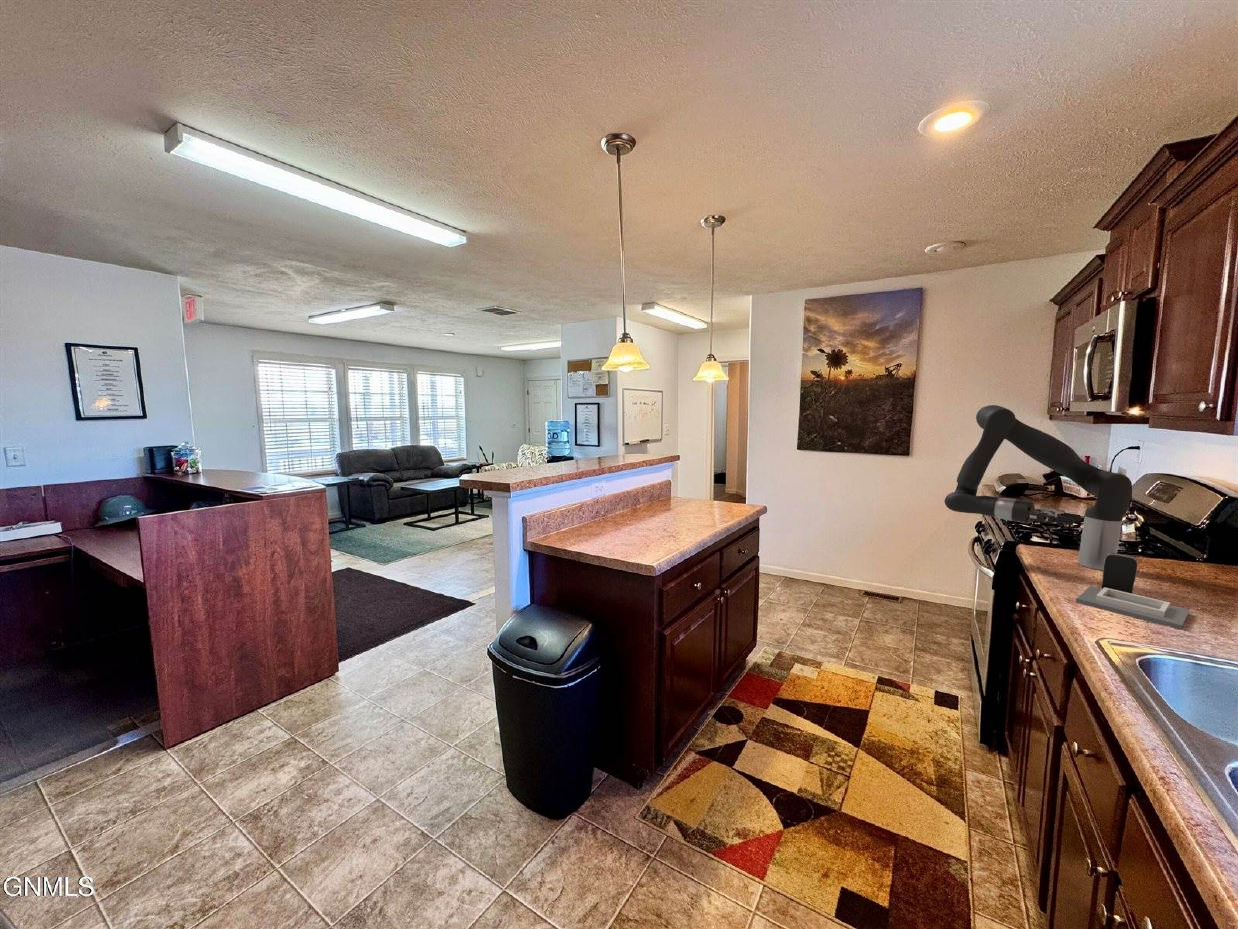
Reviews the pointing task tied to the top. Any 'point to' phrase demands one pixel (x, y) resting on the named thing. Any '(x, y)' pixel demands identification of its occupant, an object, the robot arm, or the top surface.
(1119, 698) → the top surface
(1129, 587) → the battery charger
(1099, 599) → the holder
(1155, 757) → the top surface
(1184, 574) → the top surface
